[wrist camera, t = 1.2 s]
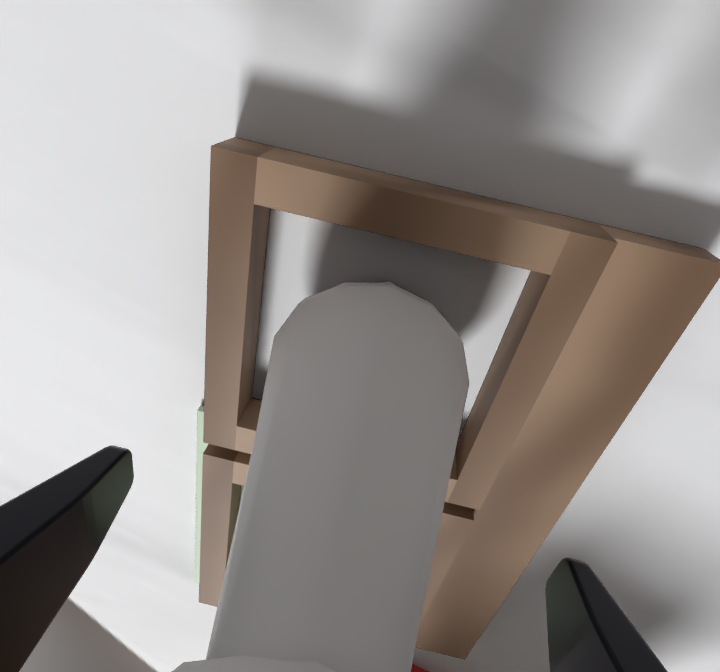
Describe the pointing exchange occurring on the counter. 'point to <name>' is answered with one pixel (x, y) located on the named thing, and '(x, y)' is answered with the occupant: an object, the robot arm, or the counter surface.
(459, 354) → the salt shaker
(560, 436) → the frame
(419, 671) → the baking soda box
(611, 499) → the counter surface
